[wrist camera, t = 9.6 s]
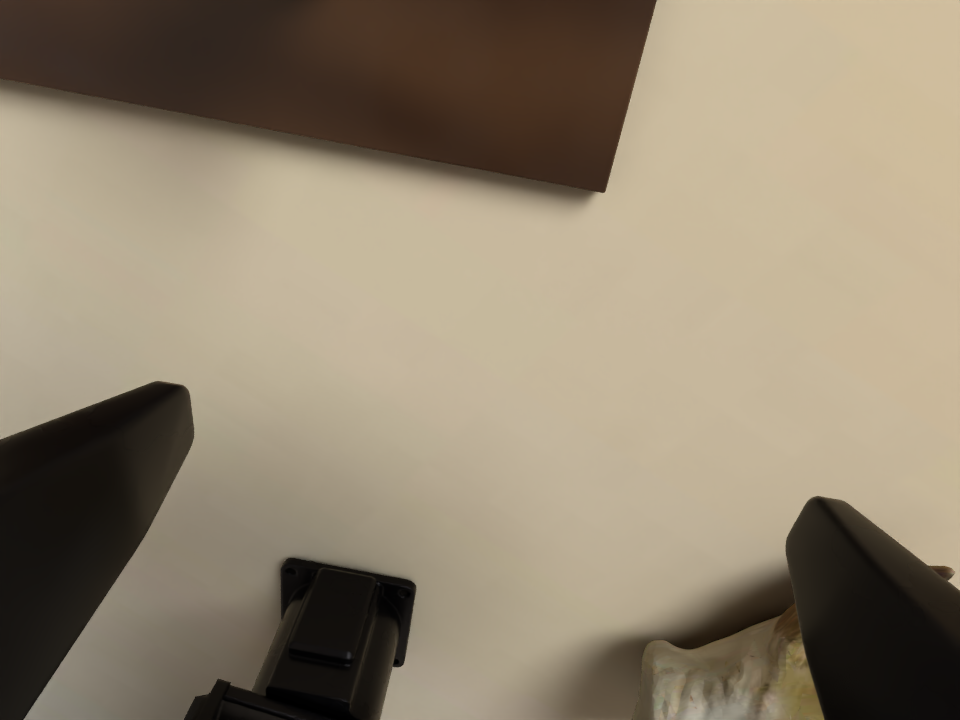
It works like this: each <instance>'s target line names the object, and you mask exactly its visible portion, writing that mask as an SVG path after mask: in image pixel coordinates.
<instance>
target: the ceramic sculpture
mask: <svg viewBox="0 0 960 720" xmlns="http://www.w3.org/2000/svg"><path fill="white" fill-rule="evenodd" d="M929 567H930V568H931V569H933V570H934V571H935V572H937V573H938V574H939V575H940V576H942V577H943V578H944V579H946V580H947V581H948V580H949V579H950V578H952V576H953V575H954V574H955V571H954V570H953V569H952V568H949V567H946V566H929ZM632 720H824V717H823V714H822V710H821V707H820V704H819V700H818V697H817V693H816V690H815V687H814V683H813V680H812V677H811V673H810V670H809V666H808V662H807V659H806V655H805V651H804V646H803V642H802V637H801V632H800V627H799V621H798V616H797V610H796V605H795V603H794V604H793V605H792V606H791V607H789V608H788V609H787V610H786V611H785V612H784V613H783V615H780V616H778V617H775V618H772V619H770V620H767V621H764V622H761V623H759V624H756V625H753V626H750V627H748V628H746V629H744V630H742V631H740V632H738V633H736V634H733V635H731V636H729V637H726V638H723V639H720V640H717V641H714V642H711V643H709V644H707V645H704V646H702V647H699V648H696V649H682V648H678V647H676V646H674V645H672V644H670V643H669V642H667V641H664V640H655V641H651V642H650V643H649V644H647V646H646V648H645V650H644V653H643V656H642V671H641V683H640V691H639V698H638V702H637V705H636V708H635V712H634V715H633V718H632Z"/></svg>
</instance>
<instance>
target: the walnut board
mask: <svg viewBox="0 0 960 720" xmlns="http://www.w3.org/2000/svg"><path fill="white" fill-rule="evenodd" d="M656 1H657V0H0V79H5V80H10V81H15V82H21V83H26V84H31V85H36V86H42V87H47V88H52V89H57V90H63V91H68V92H73V93H79V94H84V95H89V96H94V97H100V98H105V99H110V100H116V101H121V102H126V103H131V104H137V105H142V106H147V107H152V108H158V109H163V110H168V111H174V112H179V113H184V114H189V115H195V116H200V117H205V118H211V119H216V120H221V121H226V122H232V123H237V124H242V125H247V126H253V127H258V128H263V129H269V130H274V131H279V132H284V133H290V134H295V135H300V136H306V137H311V138H316V139H321V140H327V141H332V142H337V143H342V144H348V145H353V146H358V147H364V148H369V149H374V150H379V151H385V152H390V153H395V154H401V155H406V156H411V157H416V158H422V159H427V160H432V161H438V162H443V163H448V164H453V165H459V166H464V167H469V168H474V169H480V170H485V171H490V172H496V173H501V174H506V175H511V176H517V177H522V178H527V179H533V180H538V181H543V182H548V183H554V184H559V185H564V186H569V187H575V188H580V189H585V190H591V191H596V192H601V193H604V192H605V191H606V187H607V183H608V180H609V176H610V172H611V168H612V165H613V161H614V157H615V154H616V150H617V146H618V142H619V139H620V135H621V131H622V128H623V124H624V120H625V116H626V113H627V109H628V105H629V102H630V98H631V94H632V90H633V87H634V83H635V79H636V76H637V72H638V68H639V64H640V61H641V57H642V53H643V49H644V46H645V42H646V38H647V35H648V31H649V27H650V23H651V20H652V16H653V12H654V9H655V5H656Z"/></svg>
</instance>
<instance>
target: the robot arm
mask: <svg viewBox="0 0 960 720" xmlns="http://www.w3.org/2000/svg"><path fill="white" fill-rule="evenodd" d="M193 439H194V424H193V416H192V408H191V400H190V394H189V391H188V389H187V388H186V387H185V386H183V385H180V384H174V383H169V382H163V381H155V382H152V383H149V384H147V385H144V386H142V387H139V388H136V389H134V390H131V391H128V392H126V393H123V394H120V395H118V396H115V397H112V398H110V399H107V400H104V401H102V402H99V403H96V404H94V405H91V406H88V407H86V408H83V409H80V410H78V411H75V412H73V413H70V414H67V415H65V416H62V417H59V418H57V419H54V420H51V421H49V422H46V423H43V424H41V425H38V426H35V427H33V428H30V429H27V430H25V431H22V432H19V433H17V434H14V435H11V436H9V437H6V438H4V439H1V440H0V720H23V719H24V718H25V716H26V715H27V713H28V712H29V710H30V709H31V707H32V706H33V704H34V703H35V701H36V700H37V698H38V697H39V695H40V694H41V692H42V691H43V689H44V688H45V686H46V685H47V683H48V682H49V680H50V679H51V677H52V676H53V674H54V673H55V671H56V670H57V668H58V667H59V665H60V664H61V662H62V661H63V659H64V658H65V656H66V655H67V653H68V652H69V650H70V649H71V647H72V646H73V644H74V643H75V641H76V640H77V638H78V637H79V635H80V634H81V632H82V631H83V629H84V628H85V626H86V625H87V623H88V622H89V620H90V619H91V617H92V616H93V614H94V613H95V611H96V609H97V608H98V606H99V605H100V603H101V602H102V600H103V599H104V597H105V596H106V594H107V593H108V591H109V590H110V588H111V587H112V585H113V584H114V582H115V581H116V579H117V578H118V576H119V575H120V573H121V572H122V570H123V569H124V567H125V566H126V564H127V563H128V561H129V560H130V558H131V557H132V555H133V554H134V552H135V551H136V549H137V548H138V546H139V544H140V543H141V541H142V540H143V538H144V536H145V535H146V533H147V531H148V529H149V527H150V526H151V524H152V522H153V520H154V518H155V516H156V514H157V512H158V510H159V508H160V506H161V505H162V503H163V501H164V499H165V497H166V495H167V493H168V491H169V489H170V487H171V485H172V483H173V481H174V479H175V477H176V475H177V473H178V472H179V470H180V468H181V466H182V464H183V462H184V460H185V458H186V456H187V454H188V452H189V450H190V448H191V446H192V443H193ZM786 556H787V562H788V567H789V573H790V578H791V583H792V589H793V594H794V600H795V605H796V610H797V616H798V621H799V627H800V632H801V637H802V642H803V646H804V651H805V655H806V659H807V662H808V666H809V670H810V673H811V677H812V680H813V683H814V687H815V690H816V693H817V697H818V700H819V704H820V707H821V710H822V714H823V717H824V720H960V590H958V589H957V588H956V587H955V586H953V585H952V584H951V583H949V582H948V581H947V580H946V579H944V578H943V577H942V576H940V575H939V574H938V573H937V572H935V571H934V570H933V569H931V568H930V567H929V566H928V565H926V564H925V563H924V562H922V561H921V560H920V559H919V558H917V557H916V556H915V555H913V554H912V553H911V552H910V551H908V550H907V549H906V548H904V547H903V546H902V545H901V544H899V543H898V542H897V541H895V540H894V539H893V538H892V537H890V536H889V535H888V534H886V533H885V532H884V531H883V530H881V529H880V528H879V527H877V526H876V525H875V524H874V523H872V522H871V521H870V520H868V519H867V518H866V517H865V516H863V515H862V514H861V513H859V512H858V511H857V510H855V509H854V508H853V507H852V506H850V505H849V504H848V503H846V502H844V501H842V500H838V499H832V498H826V497H820V496H816V497H812V498H811V499H809V500H808V501H807V503H806V504H805V506H804V508H803V510H802V511H801V513H800V515H799V517H798V518H797V520H796V522H795V524H794V525H793V527H792V529H791V531H790V533H789V535H788V537H787V540H786ZM415 594H416V585H415V584H414V583H413V582H412V581H409V580H405V579H400V578H395V577H390V576H384V575H379V574H374V573H369V572H363V571H358V570H353V569H348V568H343V567H337V566H332V565H327V564H322V563H317V562H311V561H306V560H301V559H296V558H288V559H286V560H285V561H284V563H283V565H282V567H281V619H282V621H281V624H280V626H279V628H278V631H277V633H276V635H275V638H274V640H273V642H272V645H271V647H270V649H269V652H268V654H267V656H266V659H265V661H264V663H263V665H262V668H261V670H260V672H259V675H258V677H257V679H256V682H255V684H254V686H253V689H252V691H248V690H245V689H242V688H239V687H235V686H232V685H230V684H231V682H228V681H225V680H221V679H218V680H217V682H216V684H215V685H214V687H213V689H212V691H211V693H209V694H207V695H202V696H196V697H195V699H194V700H193V702H192V704H191V706H190V708H189V710H188V712H187V714H186V716H185V718H184V720H380V717H381V713H382V709H383V704H384V700H385V696H386V692H387V687H388V683H389V679H390V675H391V671H392V667H401V666H402V665H403V664H404V661H405V656H406V650H407V644H408V637H409V631H410V625H411V619H412V613H413V606H414V600H415Z"/></svg>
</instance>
